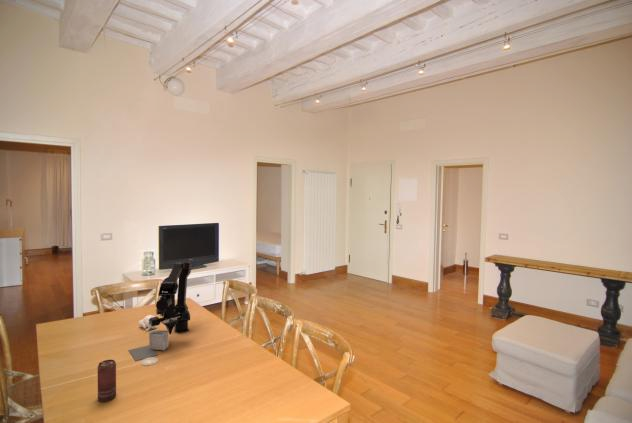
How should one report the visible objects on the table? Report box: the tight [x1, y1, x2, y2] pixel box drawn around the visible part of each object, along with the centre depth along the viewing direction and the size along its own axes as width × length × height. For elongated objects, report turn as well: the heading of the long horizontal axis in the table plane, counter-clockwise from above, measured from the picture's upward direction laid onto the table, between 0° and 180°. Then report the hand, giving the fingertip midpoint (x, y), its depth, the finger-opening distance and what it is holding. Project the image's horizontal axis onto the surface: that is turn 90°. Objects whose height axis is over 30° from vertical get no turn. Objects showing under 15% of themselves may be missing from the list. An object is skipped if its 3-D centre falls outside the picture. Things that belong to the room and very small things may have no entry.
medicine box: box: [148, 329, 169, 351], centre depth 178 cm, size 8×4×9 cm, turn 82°
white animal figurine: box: [138, 314, 156, 332], centre depth 204 cm, size 6×8×12 cm
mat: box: [128, 344, 159, 362], centre depth 174 cm, size 10×14×1 cm
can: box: [97, 359, 117, 403], centre depth 136 cm, size 6×6×14 cm
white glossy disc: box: [141, 356, 159, 367], centre depth 165 cm, size 7×7×1 cm
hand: (169, 334), depth 181 cm, fingers closed
